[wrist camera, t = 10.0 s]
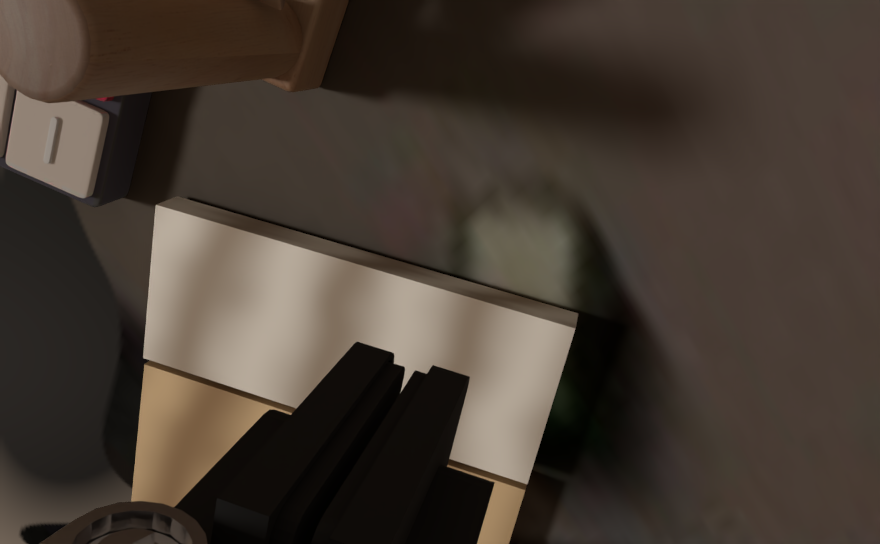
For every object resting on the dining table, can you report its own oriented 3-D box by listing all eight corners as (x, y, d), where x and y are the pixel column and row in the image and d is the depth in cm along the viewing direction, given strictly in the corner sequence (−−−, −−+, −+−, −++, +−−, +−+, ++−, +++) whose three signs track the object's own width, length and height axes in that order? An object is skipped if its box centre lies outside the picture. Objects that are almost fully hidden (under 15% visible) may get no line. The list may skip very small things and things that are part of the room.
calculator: (89, 214, 39) (-168, 100, 40) (136, 196, 43) (-99, 93, 44) (136, 1, 35) (-151, -121, 36) (182, 3, 39) (-76, -106, 40)
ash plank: (578, 313, 38) (575, 328, 36) (532, 463, 41) (527, 484, 39) (177, 196, 41) (155, 204, 39) (163, 343, 44) (143, 357, 42)
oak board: (530, 469, 41) (525, 490, 39) (486, 611, 44) (480, 636, 43) (164, 350, 44) (144, 364, 42) (149, 491, 48) (130, 509, 46)
